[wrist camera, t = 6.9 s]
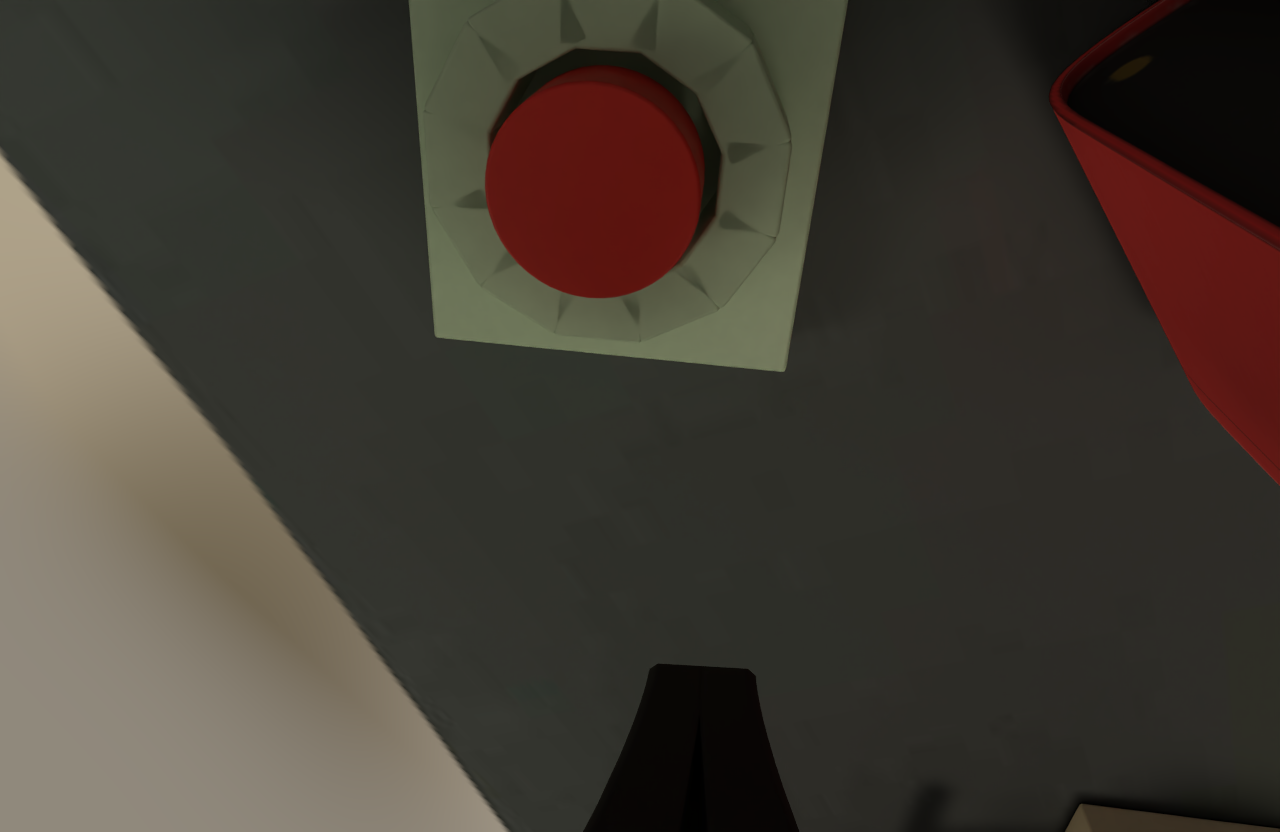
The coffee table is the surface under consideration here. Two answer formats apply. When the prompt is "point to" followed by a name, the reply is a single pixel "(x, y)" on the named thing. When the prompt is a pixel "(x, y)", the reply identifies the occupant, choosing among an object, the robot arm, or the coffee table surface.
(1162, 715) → the coffee table surface
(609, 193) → the button
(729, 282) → the button box
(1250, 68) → the alarm clock
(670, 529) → the coffee table surface
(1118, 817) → the bracket
